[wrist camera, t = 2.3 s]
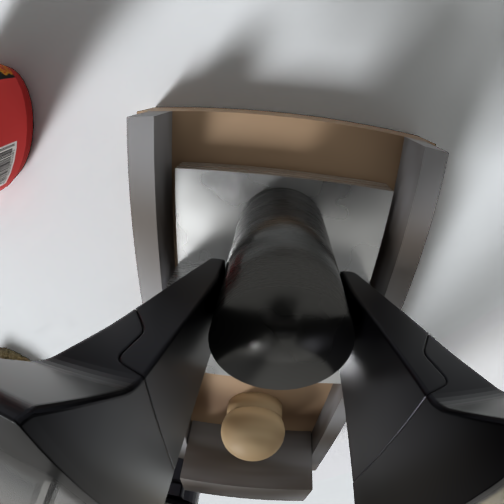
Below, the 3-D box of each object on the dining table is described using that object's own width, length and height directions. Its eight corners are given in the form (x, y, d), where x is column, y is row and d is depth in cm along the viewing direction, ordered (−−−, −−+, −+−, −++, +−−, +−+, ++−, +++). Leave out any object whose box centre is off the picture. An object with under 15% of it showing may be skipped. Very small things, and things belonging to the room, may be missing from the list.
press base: (319, 431, 24) (322, 501, 18) (181, 418, 25) (164, 487, 19) (417, 135, 13) (508, 182, 7) (154, 107, 13) (64, 133, 7)
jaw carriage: (348, 320, 15) (374, 446, 9) (186, 305, 15) (143, 428, 9) (385, 183, 12) (474, 284, 6) (182, 162, 12) (91, 247, 6)
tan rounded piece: (280, 423, 21) (279, 471, 17) (224, 418, 21) (217, 466, 17) (289, 392, 19) (289, 447, 15) (225, 386, 19) (216, 441, 15)
